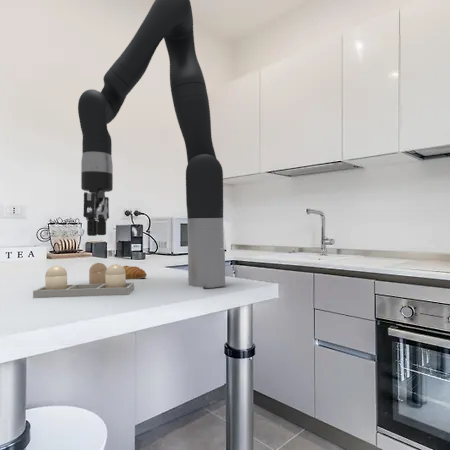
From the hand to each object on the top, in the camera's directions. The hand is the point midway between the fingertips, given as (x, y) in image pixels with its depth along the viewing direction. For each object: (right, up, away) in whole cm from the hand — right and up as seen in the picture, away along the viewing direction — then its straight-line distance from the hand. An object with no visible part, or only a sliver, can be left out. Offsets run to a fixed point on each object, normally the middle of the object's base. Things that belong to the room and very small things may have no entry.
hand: (97, 235), depth 88 cm
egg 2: (0, -13, 0) cm, 13 cm away
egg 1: (-5, -13, -11) cm, 17 cm away
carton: (+1, -13, -10) cm, 17 cm away
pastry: (+4, -14, +17) cm, 22 cm away
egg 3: (+8, -13, -9) cm, 18 cm away
